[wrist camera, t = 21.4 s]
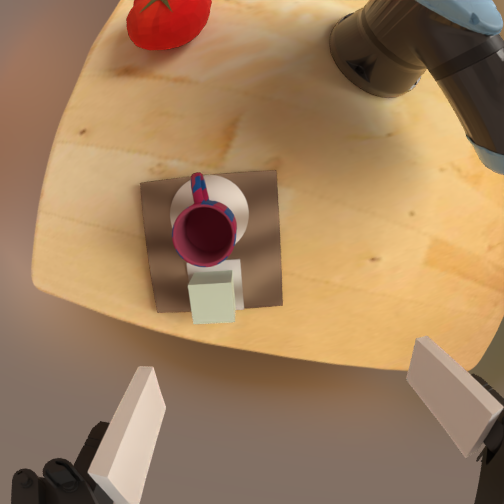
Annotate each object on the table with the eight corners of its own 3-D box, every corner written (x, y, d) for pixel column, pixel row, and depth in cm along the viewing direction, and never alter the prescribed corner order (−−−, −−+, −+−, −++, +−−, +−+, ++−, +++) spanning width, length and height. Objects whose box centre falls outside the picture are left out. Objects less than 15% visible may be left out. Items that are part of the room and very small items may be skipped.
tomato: (232, 23, 31) (230, -18, 21) (164, 74, 32) (142, 42, 22) (185, -8, 29) (175, -46, 19) (123, 39, 30) (96, 8, 20)
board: (143, 183, 36) (139, 182, 34) (274, 171, 36) (276, 170, 34) (160, 308, 39) (156, 313, 38) (281, 301, 40) (282, 306, 38)
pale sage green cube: (199, 307, 38) (193, 324, 33) (194, 272, 37) (187, 285, 32) (235, 305, 38) (234, 322, 33) (232, 270, 37) (231, 282, 32)
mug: (186, 254, 36) (174, 268, 29) (181, 176, 34) (168, 173, 27) (238, 252, 36) (237, 266, 30) (234, 172, 34) (233, 168, 27)
